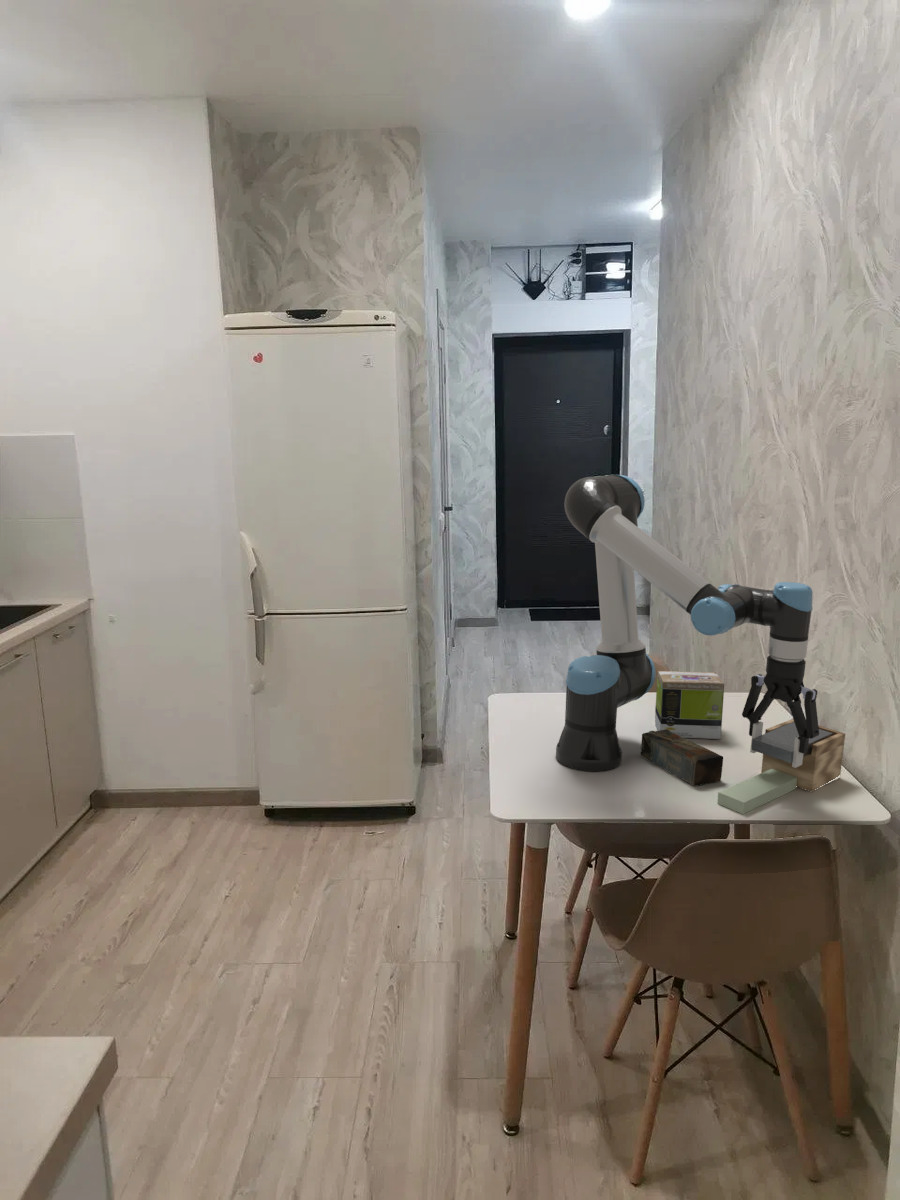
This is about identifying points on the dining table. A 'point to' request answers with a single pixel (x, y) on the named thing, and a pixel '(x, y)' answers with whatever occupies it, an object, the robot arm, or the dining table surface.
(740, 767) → the dining table surface
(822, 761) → the oak box
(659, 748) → the beverage carton
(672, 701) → the tea box
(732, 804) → the block
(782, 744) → the cover plate
